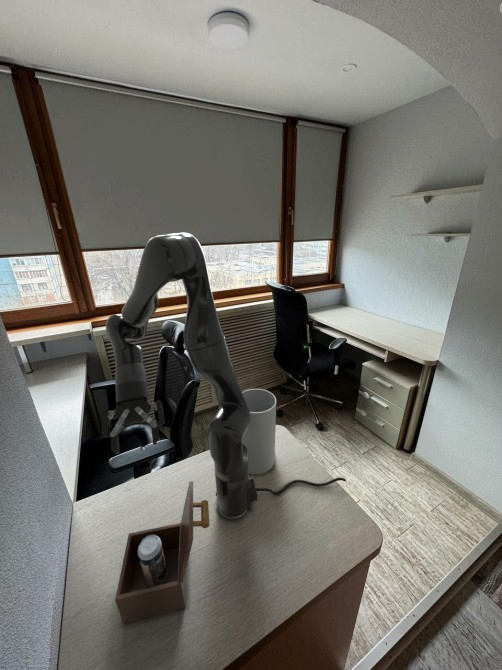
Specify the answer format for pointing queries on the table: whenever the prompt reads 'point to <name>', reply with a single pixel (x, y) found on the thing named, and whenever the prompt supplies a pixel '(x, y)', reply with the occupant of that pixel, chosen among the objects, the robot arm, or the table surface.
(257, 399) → the cylinder vase
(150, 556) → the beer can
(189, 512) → the chest lid
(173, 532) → the chest
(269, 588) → the table surface
